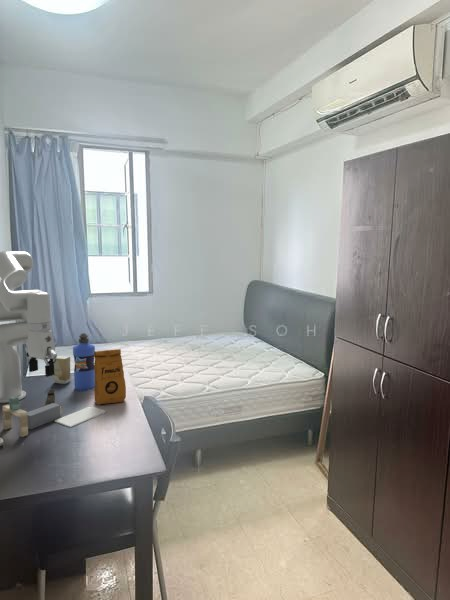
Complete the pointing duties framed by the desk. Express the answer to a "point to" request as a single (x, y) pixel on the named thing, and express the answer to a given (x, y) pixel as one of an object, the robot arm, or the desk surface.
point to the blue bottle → (84, 364)
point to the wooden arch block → (14, 409)
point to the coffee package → (109, 377)
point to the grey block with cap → (43, 415)
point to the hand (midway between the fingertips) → (41, 373)
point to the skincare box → (62, 370)
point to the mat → (80, 416)
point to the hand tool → (50, 397)
